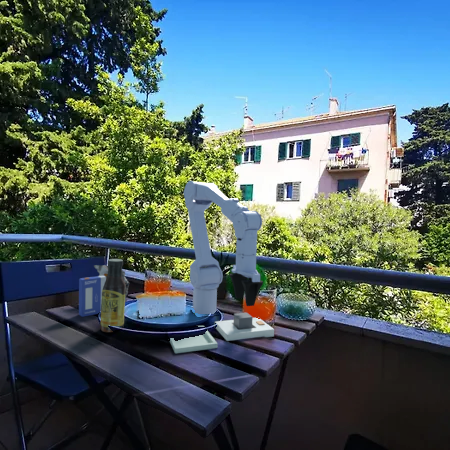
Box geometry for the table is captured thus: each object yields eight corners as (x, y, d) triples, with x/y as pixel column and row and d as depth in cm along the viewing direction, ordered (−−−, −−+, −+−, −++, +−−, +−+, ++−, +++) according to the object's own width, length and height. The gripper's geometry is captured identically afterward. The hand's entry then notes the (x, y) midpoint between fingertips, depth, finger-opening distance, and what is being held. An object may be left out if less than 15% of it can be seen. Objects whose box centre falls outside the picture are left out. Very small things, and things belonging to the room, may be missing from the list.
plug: (233, 330, 91) (233, 313, 90) (246, 329, 92) (246, 312, 92) (238, 336, 87) (239, 318, 87) (251, 334, 88) (252, 317, 88)
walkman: (82, 317, 98) (82, 278, 97) (78, 314, 100) (79, 277, 99) (106, 311, 103) (107, 275, 103) (103, 309, 105) (103, 274, 105)
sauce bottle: (95, 332, 86) (96, 260, 85) (109, 324, 92) (110, 257, 91) (116, 335, 85) (117, 262, 84) (129, 327, 91) (130, 258, 90)
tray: (166, 334, 86) (166, 329, 86) (203, 330, 90) (203, 325, 90) (175, 354, 74) (175, 348, 74) (217, 349, 78) (217, 343, 78)
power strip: (214, 328, 92) (214, 320, 92) (257, 323, 97) (258, 316, 96) (226, 342, 82) (227, 333, 82) (273, 336, 87) (274, 328, 87)
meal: (89, 301, 114) (89, 265, 113) (98, 298, 118) (99, 264, 117) (120, 308, 107) (121, 270, 107) (129, 305, 111) (130, 268, 111)
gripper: (224, 250, 94) (222, 295, 94) (243, 258, 80) (241, 310, 81) (245, 250, 96) (244, 294, 97) (268, 257, 83) (266, 308, 83)
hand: (244, 301), depth 89 cm, fingers open, 7 cm apart
